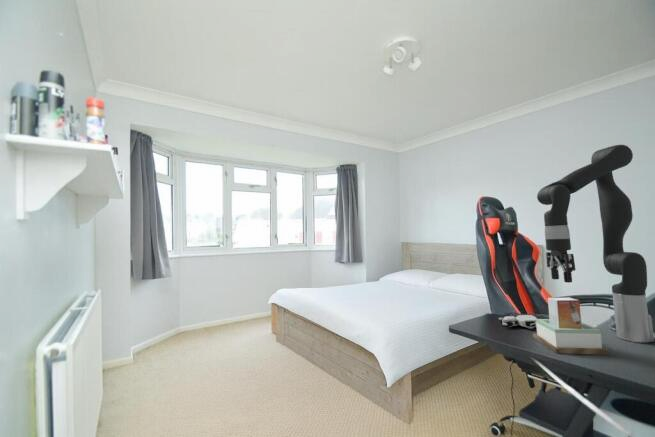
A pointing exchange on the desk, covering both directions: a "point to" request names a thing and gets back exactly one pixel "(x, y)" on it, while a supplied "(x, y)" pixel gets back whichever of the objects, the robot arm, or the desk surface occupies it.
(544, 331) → the base brick
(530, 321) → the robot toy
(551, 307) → the small box
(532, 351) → the desk surface
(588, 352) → the build plate
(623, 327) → the robot arm
